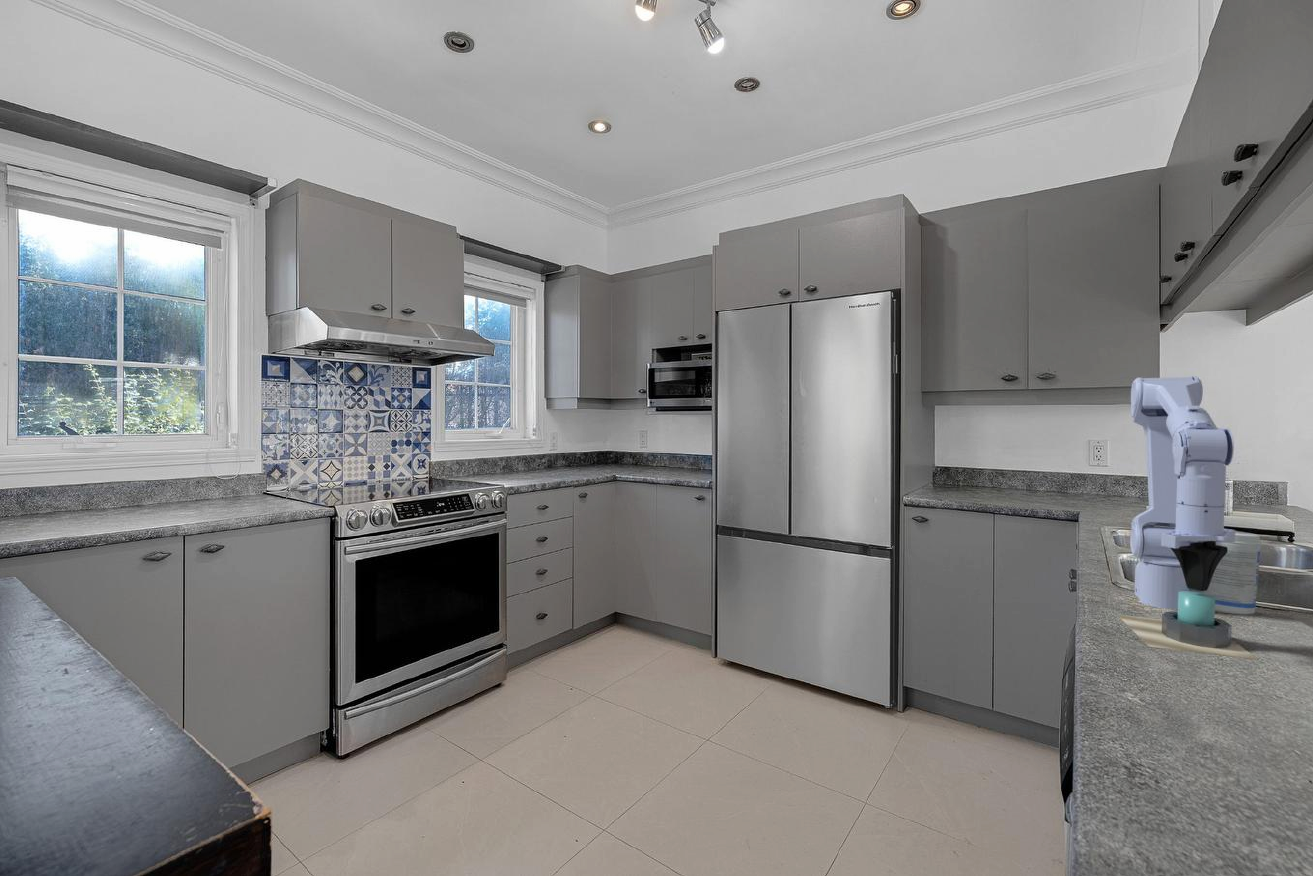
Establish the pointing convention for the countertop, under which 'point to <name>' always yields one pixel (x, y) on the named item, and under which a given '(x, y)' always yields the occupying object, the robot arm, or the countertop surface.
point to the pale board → (1155, 638)
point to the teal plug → (1196, 608)
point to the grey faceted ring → (1196, 632)
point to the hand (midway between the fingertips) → (1197, 589)
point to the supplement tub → (1236, 575)
